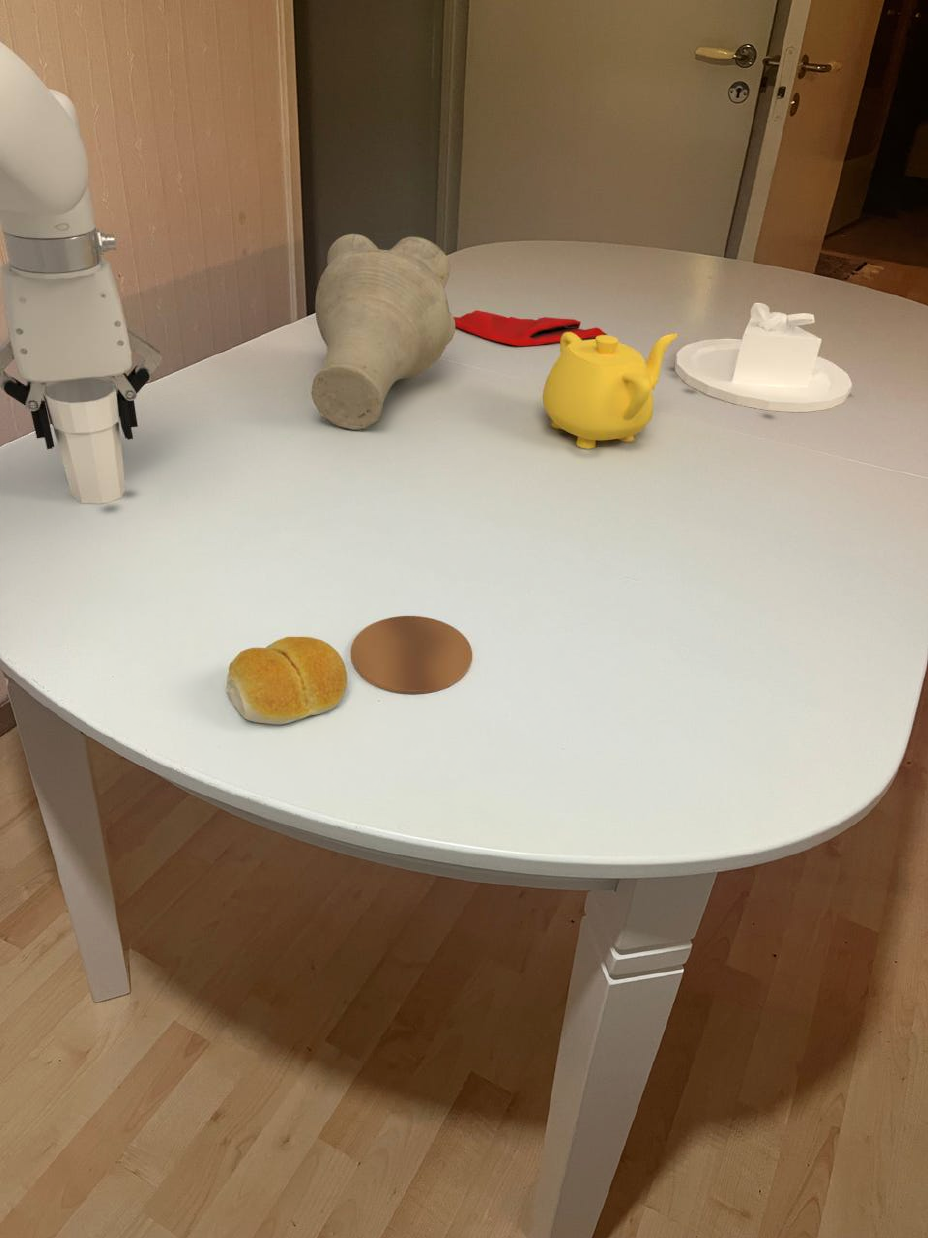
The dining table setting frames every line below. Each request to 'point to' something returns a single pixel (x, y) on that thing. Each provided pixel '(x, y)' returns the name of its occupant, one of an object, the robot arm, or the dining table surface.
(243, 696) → the bread roll
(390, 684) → the coaster
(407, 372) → the vase
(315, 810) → the dining table surface
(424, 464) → the dining table surface
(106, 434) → the cup
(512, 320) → the cloth
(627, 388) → the teapot
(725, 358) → the dish
